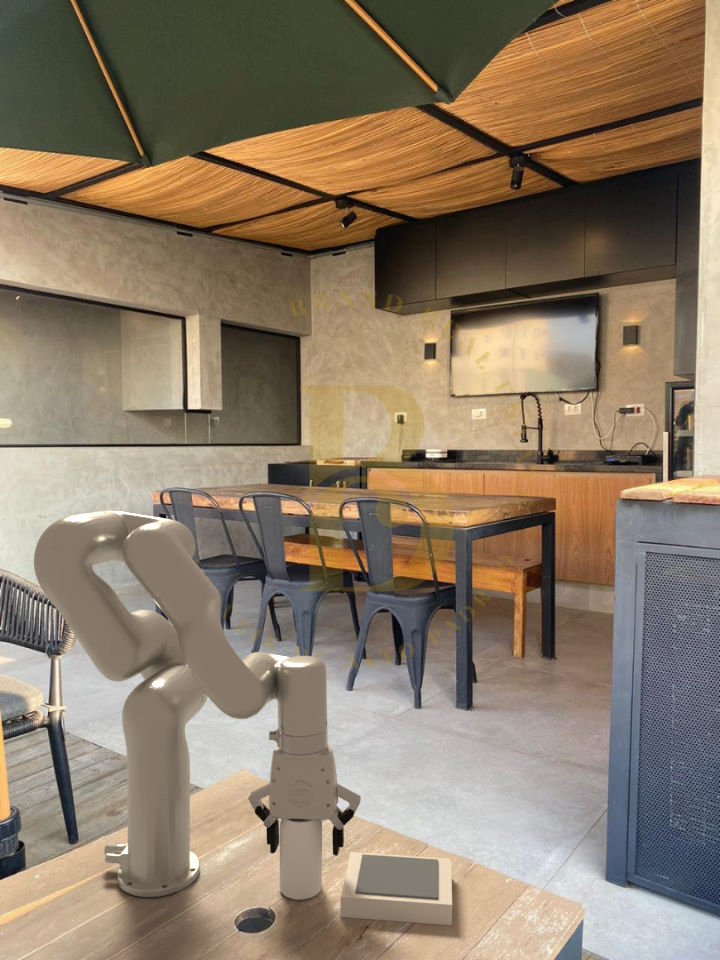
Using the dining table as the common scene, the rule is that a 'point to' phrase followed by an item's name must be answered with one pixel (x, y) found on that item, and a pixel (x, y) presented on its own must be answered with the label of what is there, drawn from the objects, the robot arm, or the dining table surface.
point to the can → (300, 858)
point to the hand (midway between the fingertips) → (305, 849)
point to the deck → (398, 888)
